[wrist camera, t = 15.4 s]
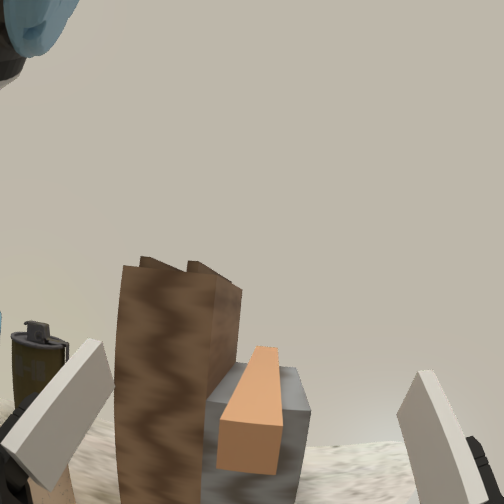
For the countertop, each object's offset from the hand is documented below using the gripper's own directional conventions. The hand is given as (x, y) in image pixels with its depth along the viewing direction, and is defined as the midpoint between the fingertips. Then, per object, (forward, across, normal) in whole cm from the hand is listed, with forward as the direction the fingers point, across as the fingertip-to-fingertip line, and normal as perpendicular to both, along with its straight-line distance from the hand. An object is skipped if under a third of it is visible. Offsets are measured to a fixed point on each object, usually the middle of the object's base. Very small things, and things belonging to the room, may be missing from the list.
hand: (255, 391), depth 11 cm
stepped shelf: (+8, -4, -33) cm, 34 cm away
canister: (+11, -36, -34) cm, 51 cm away
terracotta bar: (+12, 0, -13) cm, 18 cm away
